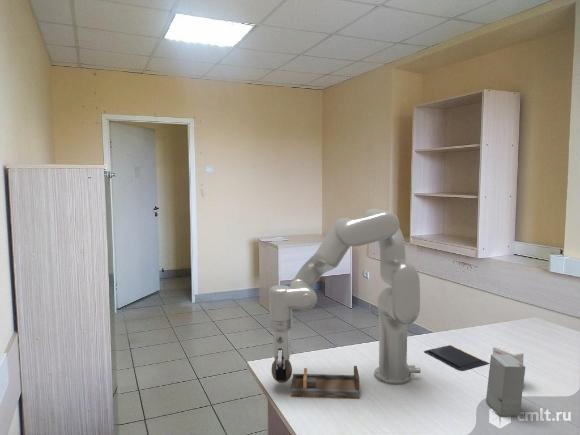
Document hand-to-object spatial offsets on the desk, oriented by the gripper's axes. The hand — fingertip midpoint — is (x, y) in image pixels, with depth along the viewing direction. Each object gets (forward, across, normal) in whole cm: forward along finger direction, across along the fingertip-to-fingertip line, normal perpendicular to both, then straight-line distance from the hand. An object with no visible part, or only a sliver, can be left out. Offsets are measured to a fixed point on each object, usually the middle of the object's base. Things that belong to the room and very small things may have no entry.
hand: (282, 374), depth 145 cm
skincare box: (+5, -10, -68) cm, 69 cm away
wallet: (+6, +27, -65) cm, 71 cm away
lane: (+5, 0, -14) cm, 15 cm away
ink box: (+5, +7, -76) cm, 77 cm away
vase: (+2, 0, 0) cm, 2 cm away
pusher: (+3, 0, -9) cm, 10 cm away
